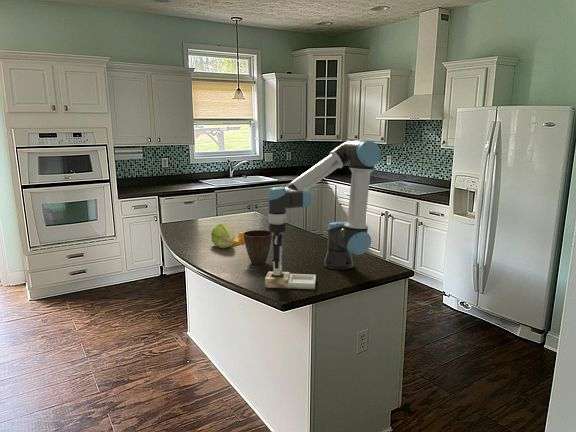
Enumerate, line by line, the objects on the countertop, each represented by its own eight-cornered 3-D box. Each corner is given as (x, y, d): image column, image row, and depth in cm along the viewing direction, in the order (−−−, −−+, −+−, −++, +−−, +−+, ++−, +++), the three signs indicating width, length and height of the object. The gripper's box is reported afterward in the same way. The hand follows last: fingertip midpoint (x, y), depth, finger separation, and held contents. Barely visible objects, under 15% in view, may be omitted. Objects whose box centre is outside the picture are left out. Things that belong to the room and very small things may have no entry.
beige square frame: (289, 280, 198) (289, 272, 197) (287, 288, 188) (287, 279, 187) (268, 279, 199) (268, 271, 198) (265, 287, 189) (264, 278, 188)
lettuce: (221, 255, 238) (218, 231, 235) (209, 245, 257) (207, 223, 254) (242, 251, 244) (241, 228, 240) (229, 242, 263) (228, 220, 260)
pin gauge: (282, 279, 195) (282, 245, 192) (281, 282, 191) (281, 247, 188) (273, 279, 195) (273, 245, 192) (272, 282, 191) (272, 247, 188)
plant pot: (238, 264, 222) (237, 234, 218) (255, 257, 234) (254, 228, 231) (261, 268, 214) (261, 238, 211) (277, 261, 226) (277, 232, 223)
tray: (315, 279, 199) (315, 274, 198) (314, 289, 187) (314, 283, 186) (290, 278, 200) (290, 273, 199) (287, 288, 188) (287, 282, 188)
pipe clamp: (231, 247, 254) (231, 236, 253) (226, 246, 257) (226, 235, 256) (246, 243, 263) (246, 233, 261) (241, 242, 266) (241, 232, 264)
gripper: (271, 218, 196) (272, 266, 201) (266, 226, 180) (266, 279, 184) (287, 218, 196) (287, 267, 200) (283, 227, 179) (283, 279, 184)
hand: (277, 273), depth 192 cm, fingers closed on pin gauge, 4 cm apart
